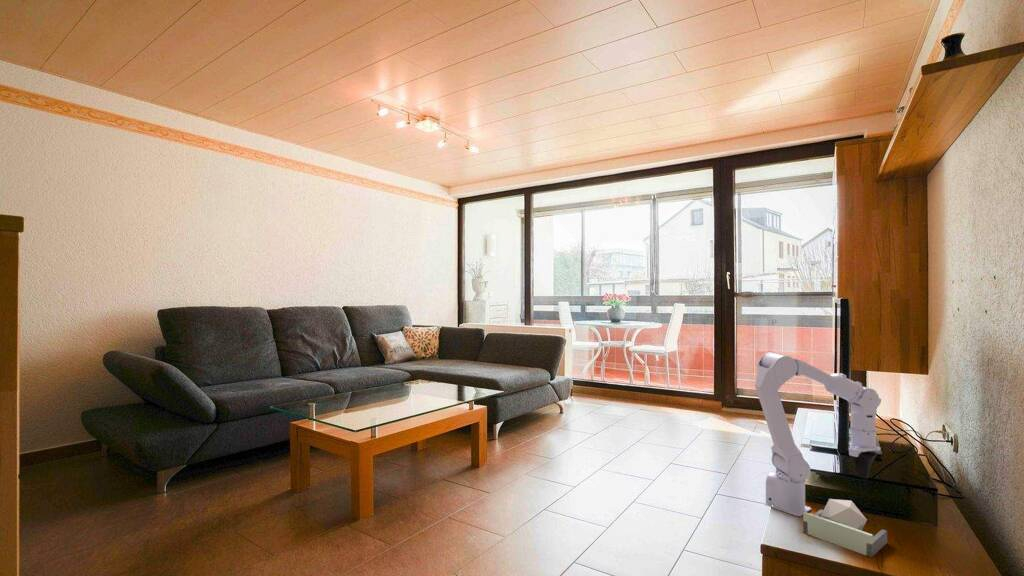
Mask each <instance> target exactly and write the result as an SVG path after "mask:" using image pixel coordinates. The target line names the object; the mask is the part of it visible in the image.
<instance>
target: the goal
mask: <svg viewBox="0 0 1024 576" xmlns="http://www.w3.org/2000/svg"><path fill="white" fill-rule="evenodd" d="M823 510H824V509H819V510H818V511H816V512H815V513H810V512H804V513H803V515H802V518H803V519H802V520H803V525H802V528H803V529H802V530H803V531H802V532H803V533H804V534H807V535H810V536H811V537H815V538H817V539H820V540H823V541H825V542H828V543H831V544H834V545H836V546H839V547H842V548H845V549H848V550H850V551H853V552H856V553H858V554H861V555H864V556H866V557H869V558H873V557H875V555H876V554H877V553H878V552H879V551H880V550H881V549H882V548H883V547H884V546H886V545H887V544H888V530H886V529H880V531H878V532H877V533H876V534H875V535H874V534H872V533H869V532H866V531H863V530H862V531H861V530H858V529H855V528H852V527H849V526H846V525H843V524H840V523H837V522H834V521H831V520H828V519H825V518H822V517H821V514H822V512H823Z"/></svg>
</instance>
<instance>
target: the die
mask: <svg viewBox="0 0 1024 576" xmlns="http://www.w3.org/2000/svg"><path fill="white" fill-rule="evenodd" d="M822 510H823V512H822V514H821V517H822V518H825V519H828V520H831V521H834V522H837V523H840V524H843V525H846V526H849V527H852V528H855V529H858V530H861V531H863V529H864V527H865V525H866V523H867V521H868V519H867V518H866V517H865V515H864V514H863V513H862V512H861V510H860V509H859V508H858V507H857V506H856V504H855V503H854V502H853V501H852V500H848V499H847V500H846V499H834V498H828V501H827V502H826V505H825V507H824V509H822Z"/></svg>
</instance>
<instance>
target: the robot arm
mask: <svg viewBox="0 0 1024 576" xmlns="http://www.w3.org/2000/svg"><path fill="white" fill-rule="evenodd" d="M756 366H757V373H756V379H755V385H754V387H755V390H756V393H757V397H758V400H759V403H760V405H761V408H762V412H763V416H764V418H765V421H766V423H767V428H768V430H769V431H768V432H769V433H770V437H771V441H772V444H773V445H772V446H770V449H771V453H772V456H771V462H772V465H773V466H774V467H775V472H774V471H770V472H769V473H768V474H767V476H766V479H765V502H764V506H767V507H769V508H771V509H772V508H773V509H776V510H779V511H781V512H784V513H786V514H790V515H792V516H795V517H799V518H800V517H801V516H803V513H804V512H807V513H809V511H811V510H812V508H811V507H810V506H807V505H806V480H807V479H808V478H809V476H810V474H811V466H810V464H809V463H808V462H807V461H806V460H805V458H804V456H803V454H802V452H801V450H800V449H799V447H798V446H797V445H796V442H795V440H794V438H793V437H794V436H793V434H792V431H791V428H790V425H789V421H788V419H787V416H786V415H787V414H786V412H785V409H784V406H783V403H782V400H781V397H780V394H779V393H780V392H779V390H780V388H781V387H782V386H783V385H784V384H786V383H787V382H788V381H789V380H791V379H792V378H793V377H795V376H796V377H799V376H800V377H801V376H804V377H806V378H808V379H811V380H814V381H816V382H818V383H820V384H822V385H824V388H825V390H826V391H827V392H828V393H831V394H832V395H835V396H837V397H839V398H841V399H843V400H846V401H847V403H849V404H850V442H849V448H848V455H849V456H850V458H851V459H852V461H853V465H854V467H855V472H856V476H857V477H859V478H862V479H868V478H869V477H870V476H869V475H870V472H871V468H872V464H873V462H874V460H875V458H876V457H877V456H878V452H880V451H881V448H882V447H879V446H877V441H876V414H877V413H878V411H877V410H878V407H880V405H881V404H882V403H881V402H882V398H880V397H879V394H878V393H877V391H876V390H875V389H874V388H870V387H868V386H867V387H866V386H863V383H862V382H860V381H854V380H852V379H850V378H847V374H844V373H842V372H840V373H831V374H829V373H827V372H825V371H823V370H821V369H819V368H817V367H815V366H813V365H812V364H809V363H808V362H805V361H803V360H800V359H797V358H793V357H792V356H789V355H782V354H779V353H775V352H772V351H769V352H765V353H763V354H762V356H761V357H760V359H759V360H758V361H757V363H756ZM772 505H773V507H772Z"/></svg>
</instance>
